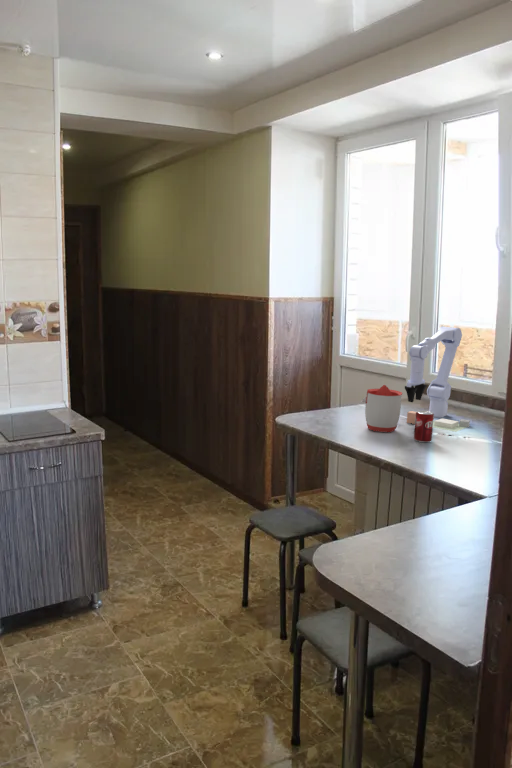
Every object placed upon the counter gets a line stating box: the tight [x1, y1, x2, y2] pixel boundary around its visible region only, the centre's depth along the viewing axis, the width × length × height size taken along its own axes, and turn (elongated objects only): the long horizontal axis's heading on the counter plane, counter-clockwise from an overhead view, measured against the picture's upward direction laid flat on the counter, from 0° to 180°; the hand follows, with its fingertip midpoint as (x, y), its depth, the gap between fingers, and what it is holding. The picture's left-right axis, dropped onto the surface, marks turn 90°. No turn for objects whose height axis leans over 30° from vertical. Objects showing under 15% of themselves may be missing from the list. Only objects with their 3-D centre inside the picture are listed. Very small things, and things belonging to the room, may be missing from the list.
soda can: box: [413, 410, 435, 443], centre depth 268 cm, size 7×7×12 cm
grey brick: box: [459, 418, 471, 428], centre depth 294 cm, size 4×4×2 cm
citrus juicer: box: [360, 384, 403, 433], centre depth 283 cm, size 16×17×20 cm
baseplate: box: [433, 419, 468, 433], centre depth 293 cm, size 16×16×1 cm
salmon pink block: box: [406, 410, 417, 425], centre depth 300 cm, size 4×4×5 cm
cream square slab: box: [433, 417, 460, 428], centre depth 293 cm, size 8×8×2 cm
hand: (414, 400), depth 299 cm, fingers open, 7 cm apart
